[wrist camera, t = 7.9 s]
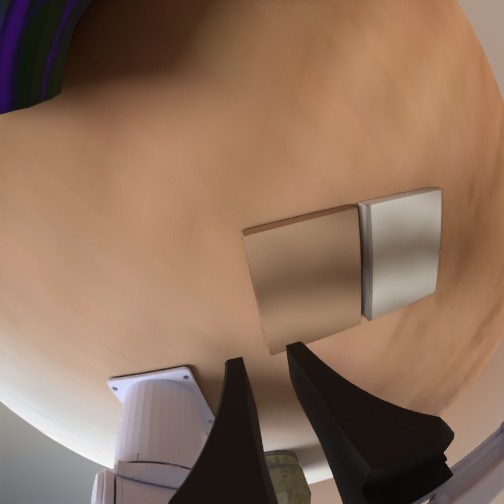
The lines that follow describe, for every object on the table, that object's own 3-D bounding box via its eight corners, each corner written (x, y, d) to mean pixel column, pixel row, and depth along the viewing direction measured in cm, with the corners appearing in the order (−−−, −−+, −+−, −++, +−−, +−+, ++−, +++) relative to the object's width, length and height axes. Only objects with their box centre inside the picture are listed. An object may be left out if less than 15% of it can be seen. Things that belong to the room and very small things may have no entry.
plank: (354, 316, 23) (360, 323, 22) (266, 346, 22) (270, 355, 21) (348, 204, 20) (357, 208, 19) (240, 230, 19) (244, 236, 18)
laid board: (427, 286, 24) (435, 292, 23) (361, 313, 24) (368, 321, 22) (431, 186, 20) (441, 189, 19) (358, 202, 20) (367, 205, 19)
